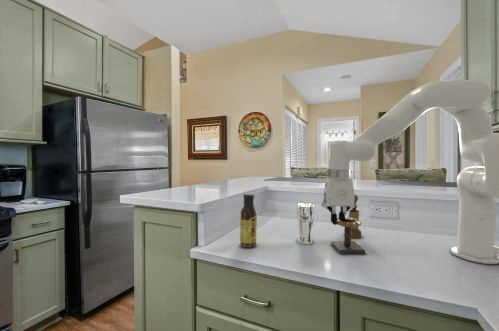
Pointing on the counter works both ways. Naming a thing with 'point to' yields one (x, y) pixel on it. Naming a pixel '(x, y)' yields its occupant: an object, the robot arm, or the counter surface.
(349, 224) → the ring
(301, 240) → the beer glass
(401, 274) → the counter surface
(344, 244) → the peg stand
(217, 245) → the counter surface
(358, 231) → the brown knobbed post
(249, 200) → the sauce bottle
